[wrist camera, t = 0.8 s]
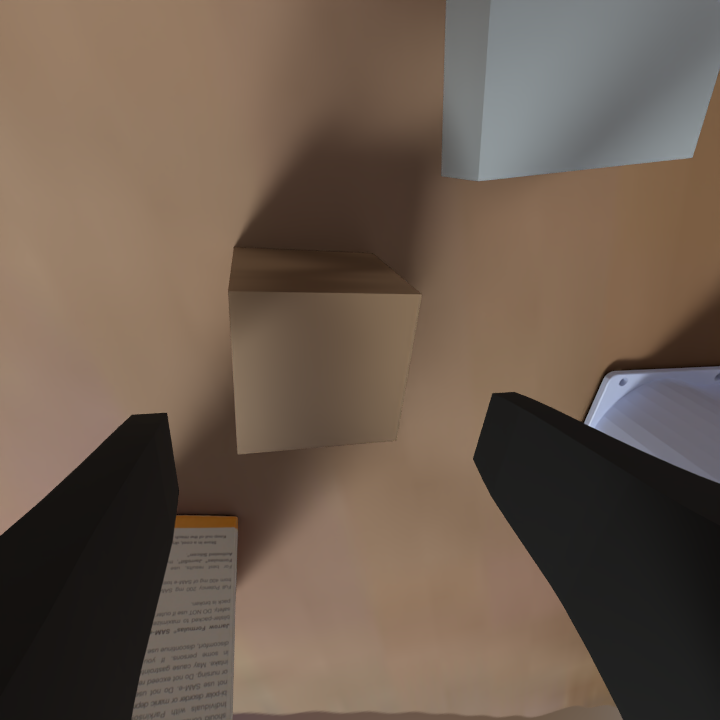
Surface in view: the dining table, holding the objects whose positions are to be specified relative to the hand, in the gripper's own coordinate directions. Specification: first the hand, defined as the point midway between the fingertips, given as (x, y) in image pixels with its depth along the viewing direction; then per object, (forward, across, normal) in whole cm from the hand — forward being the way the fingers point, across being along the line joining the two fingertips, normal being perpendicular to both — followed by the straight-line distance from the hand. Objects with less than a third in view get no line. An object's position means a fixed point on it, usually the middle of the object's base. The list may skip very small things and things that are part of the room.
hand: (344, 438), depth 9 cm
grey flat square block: (+8, -8, -10) cm, 15 cm away
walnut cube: (+8, 0, 0) cm, 8 cm away
